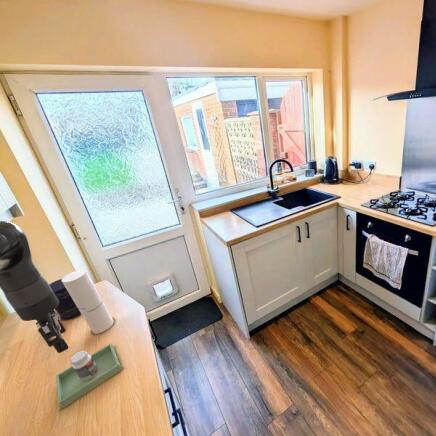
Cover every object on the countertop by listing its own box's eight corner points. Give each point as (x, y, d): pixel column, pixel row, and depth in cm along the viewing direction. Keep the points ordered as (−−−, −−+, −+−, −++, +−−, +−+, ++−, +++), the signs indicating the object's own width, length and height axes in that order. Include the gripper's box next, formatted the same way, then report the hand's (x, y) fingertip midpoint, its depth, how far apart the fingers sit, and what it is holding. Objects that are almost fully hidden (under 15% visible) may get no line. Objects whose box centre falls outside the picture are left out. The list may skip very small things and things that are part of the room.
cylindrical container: (99, 320, 101) (70, 271, 91) (117, 317, 102) (90, 268, 92) (88, 335, 95) (56, 283, 85) (107, 332, 95) (77, 280, 85)
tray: (62, 408, 70) (58, 403, 69) (59, 380, 79) (55, 375, 78) (122, 369, 80) (119, 364, 79) (113, 348, 88) (110, 343, 87)
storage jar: (87, 300, 114) (72, 274, 108) (90, 310, 108) (74, 283, 101) (60, 312, 109) (43, 285, 102) (61, 324, 102) (42, 296, 96)
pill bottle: (96, 377, 78) (85, 359, 74) (79, 384, 76) (66, 366, 73) (100, 364, 82) (90, 347, 78) (84, 370, 80) (72, 353, 77)
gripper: (13, 292, 65) (44, 336, 72) (9, 319, 55) (45, 367, 62) (50, 278, 70) (76, 320, 76) (52, 301, 60) (82, 347, 67)
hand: (62, 341), depth 69 cm, fingers open, 8 cm apart
